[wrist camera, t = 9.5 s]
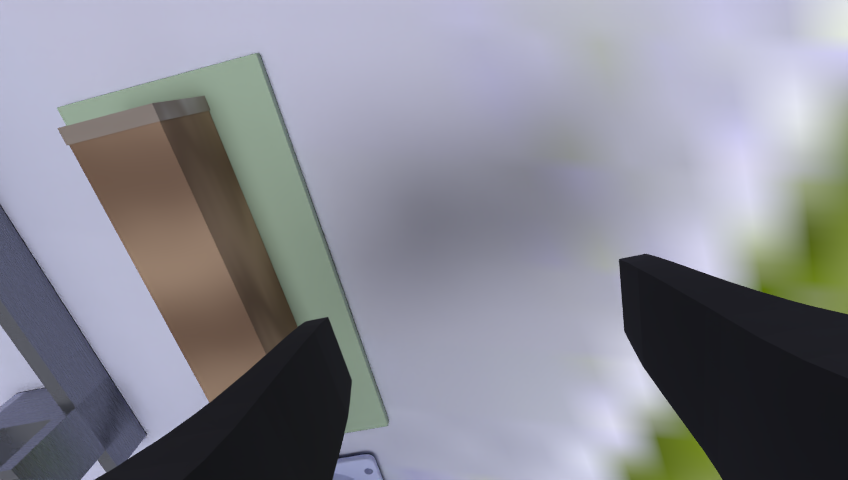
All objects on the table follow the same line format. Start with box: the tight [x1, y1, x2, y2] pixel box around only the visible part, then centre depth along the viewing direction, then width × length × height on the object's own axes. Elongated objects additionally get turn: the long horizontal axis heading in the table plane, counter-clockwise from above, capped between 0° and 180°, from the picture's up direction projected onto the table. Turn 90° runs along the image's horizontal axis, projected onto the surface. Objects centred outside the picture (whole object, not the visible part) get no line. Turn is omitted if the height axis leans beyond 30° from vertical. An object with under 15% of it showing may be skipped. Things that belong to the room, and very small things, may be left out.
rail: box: [58, 96, 298, 403], centre depth 20 cm, size 18×4×4 cm, turn 13°
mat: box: [57, 53, 389, 433], centre depth 21 cm, size 20×9×1 cm, turn 13°
